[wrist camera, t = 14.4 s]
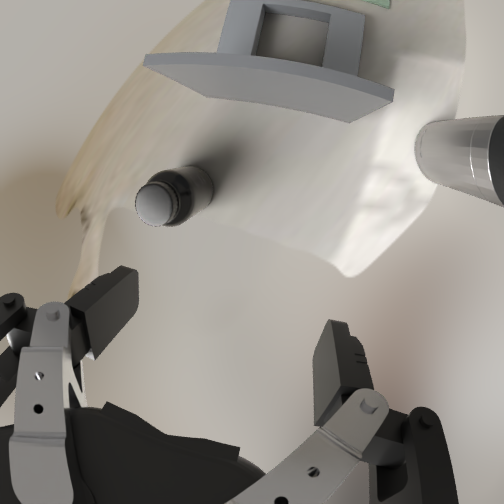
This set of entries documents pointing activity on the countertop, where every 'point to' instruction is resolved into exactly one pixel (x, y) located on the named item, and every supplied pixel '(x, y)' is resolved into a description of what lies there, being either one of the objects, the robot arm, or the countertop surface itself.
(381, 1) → the mat
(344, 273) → the countertop surface
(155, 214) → the supplement bottle
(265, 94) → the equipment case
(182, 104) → the countertop surface
